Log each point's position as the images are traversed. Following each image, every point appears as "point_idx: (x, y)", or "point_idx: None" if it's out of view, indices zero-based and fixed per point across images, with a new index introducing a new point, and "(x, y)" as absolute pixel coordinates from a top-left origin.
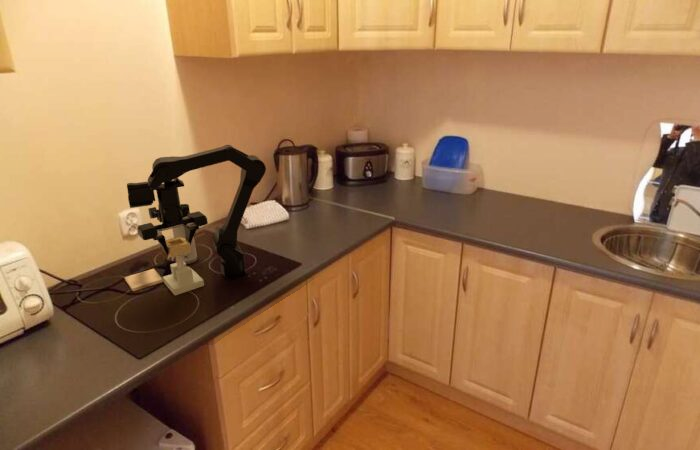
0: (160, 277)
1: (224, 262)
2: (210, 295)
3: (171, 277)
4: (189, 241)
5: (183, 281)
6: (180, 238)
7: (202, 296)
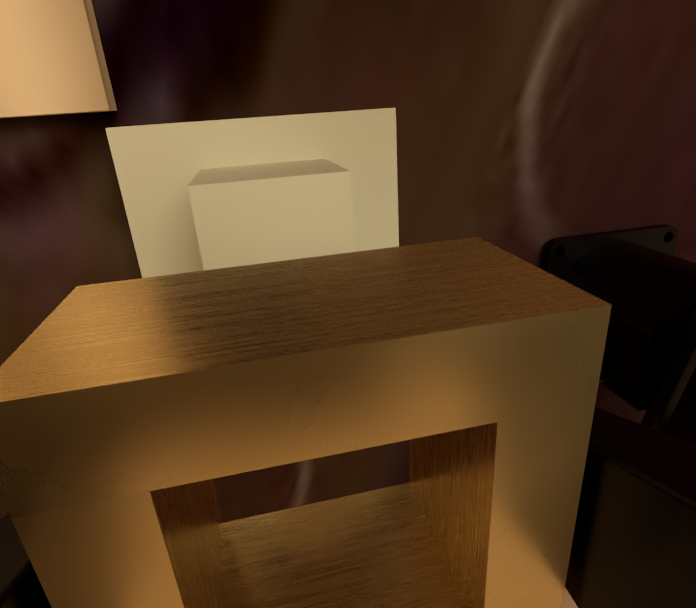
0: (89, 59)
1: (622, 382)
2: (376, 468)
3: (188, 194)
4: (580, 583)
5: None
6: (514, 402)
7: (335, 460)
